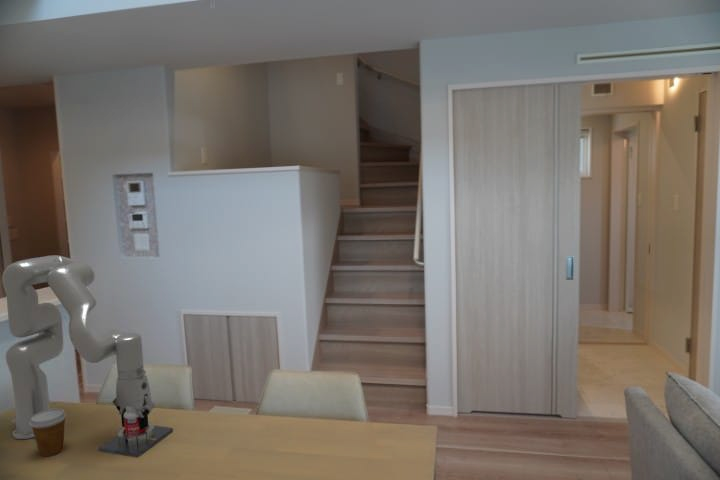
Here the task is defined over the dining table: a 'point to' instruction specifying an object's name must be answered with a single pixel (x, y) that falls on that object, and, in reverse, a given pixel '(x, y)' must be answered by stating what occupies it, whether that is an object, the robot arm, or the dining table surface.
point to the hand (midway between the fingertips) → (135, 425)
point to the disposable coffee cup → (49, 431)
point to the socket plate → (137, 448)
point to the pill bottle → (132, 422)
